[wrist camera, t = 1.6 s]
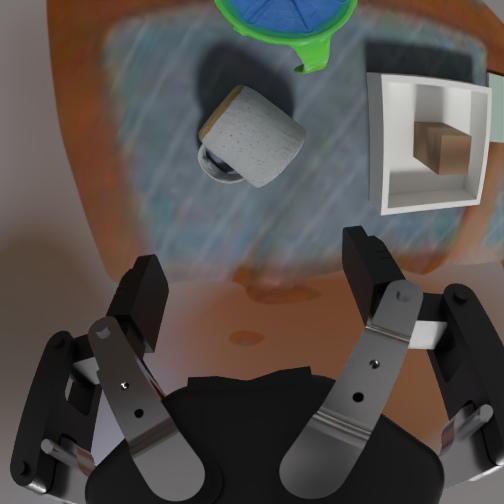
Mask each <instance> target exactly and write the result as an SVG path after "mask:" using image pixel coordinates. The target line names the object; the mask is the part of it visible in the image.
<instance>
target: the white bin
mask: <svg viewBox="0 0 504 504" xmlns="http://www.w3.org/2000/svg"><path fill="white" fill-rule="evenodd" d="M366 76H367V89H368V105H369V130H370V186H369V201H370V202H371V203H372V204H373V206H374V207H375V208H376V210H377V211H378V212H379V214H380V215H388V214H396V213H405V212H413V211H422V210H431V209H440V208H449V207H459V206H468V205H478V204H479V203H480V199H481V194H482V188H483V183H484V177H485V170H486V164H487V156H488V148H489V138H490V126H491V107H492V88H489V87H485V86H482V85H478V84H474V83H470V82H464V81H458V80H452V79H446V78H438V77H430V76H421V75H410V74H397V73H377V72H366ZM414 121H415V122H443V123H445V124H447V125H449V126H452V127H454V128H456V129H458V130H460V131H462V132H464V133H466V134H468V135H470V136H472V141H471V152H470V161H469V169H468V174H457V175H437V174H436V173H435V172H433V171H432V170H431V169H429V168H428V167H427V166H425V165H424V164H423V163H421V162H420V161H419V160H417V159H416V158H414V157H413V144H414Z"/></svg>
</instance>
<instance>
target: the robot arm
mask: <svg viewBox="0 0 504 504" xmlns="http://www.w3.org/2000/svg"><path fill="white" fill-rule="evenodd" d="M342 264H343V269H344V272H345V275H346V277H347V280H348V283H349V285H350V288H351V290H352V293H353V295H354V298H355V301H356V303H357V306H358V309H359V312H360V314H361V317H362V320H363V322H364V325H365V329H364V331H363V333H362V335H361V337H360V339H359V341H358V343H357V344H356V347H355V348H354V350H353V352H352V354H351V356H350V358H349V360H348V361H347V363H346V365H345V367H344V368H343V370H342V372H341V374H340V376H339V377H338V379H337V381H336V380H334V379H332V378H328V377H325V376H320V375H311V369H310V366H308V367H301V368H294V369H286V370H279V371H276V372H273V373H270V374H267V375H264V376H261V377H259V378H255V379H253V380H247V381H245V380H238V379H231V378H225V377H219V376H210V377H188V384H187V386H186V387H183V388H180V389H178V390H176V391H174V392H172V393H170V394H169V395H166V394H165V393H164V391H163V390H162V388H161V387H160V385H159V383H158V382H157V380H156V379H155V377H154V376H153V374H152V372H151V371H150V369H149V368H148V366H147V364H146V362H145V361H144V360H143V356H144V353H154V352H155V347H156V342H157V338H158V334H159V330H160V326H161V322H162V317H163V313H164V309H165V305H166V301H167V297H168V293H169V288H168V282H167V280H166V277H165V275H164V272H163V270H162V268H161V265H160V263H159V260H158V258H157V256H156V255H155V254H152V255H145V256H139V257H138V258H137V260H136V262H135V264H134V266H133V269H129V270H128V271H127V272H126V274H125V275H124V276H123V277H122V279H121V281H120V283H119V287H118V288H117V290H116V294H115V295H114V297H113V300H112V302H111V304H110V307H109V309H108V312H107V314H106V316H105V317H102V318H100V319H98V320H96V321H95V322H94V323H93V324H92V325H91V326H90V328H89V330H88V334H86V335H83V336H80V337H77V338H73V337H72V336H71V334H70V333H69V332H67V331H60V332H58V333H56V334H54V335H53V336H52V337H51V338H50V339H49V341H48V342H47V345H46V347H45V350H44V352H43V355H42V357H41V360H40V362H39V365H38V368H37V371H36V373H35V376H34V379H33V382H32V385H31V388H30V391H29V394H28V397H27V400H26V404H25V407H24V410H23V413H22V417H21V421H20V424H19V428H18V432H17V436H16V441H15V445H14V449H13V454H12V458H11V464H10V472H11V476H12V478H13V480H14V481H15V482H16V483H17V484H18V485H20V486H22V487H24V488H26V489H29V490H31V491H33V492H35V493H36V494H38V495H41V496H43V497H46V498H48V499H51V500H53V501H56V502H61V503H64V504H439V500H440V497H441V495H442V491H443V490H445V489H448V488H450V487H453V486H455V485H457V484H460V483H462V482H464V481H467V480H470V481H476V480H479V479H481V478H483V477H485V476H487V475H489V474H491V473H493V472H495V471H497V470H499V469H501V468H503V467H504V346H503V344H502V342H501V340H500V338H499V336H498V334H497V332H496V331H495V328H494V326H493V325H492V323H491V321H490V319H489V317H488V316H487V314H486V312H485V310H484V308H483V307H482V305H481V303H480V302H479V300H478V298H477V297H476V295H475V293H474V292H473V291H472V290H471V289H470V288H469V287H467V286H465V285H463V284H450V285H448V286H447V287H446V288H445V290H444V293H443V294H431V293H424V292H422V290H421V288H420V287H419V286H418V285H417V284H415V283H413V282H411V281H408V280H406V279H405V277H404V275H403V274H402V272H401V270H400V269H399V267H398V265H397V264H396V262H395V260H394V259H393V258H392V255H391V254H390V252H389V251H388V249H387V247H386V246H385V244H384V243H383V242H382V241H381V240H380V239H378V238H377V237H375V236H367V234H366V232H365V231H364V229H363V227H362V226H353V227H345V228H343V242H342ZM408 348H415V349H426V350H427V353H428V356H429V358H430V361H431V364H432V367H433V370H434V372H435V375H436V379H437V382H438V385H439V388H440V391H441V394H442V397H443V401H444V404H445V408H446V411H447V415H448V418H449V422H448V423H447V424H446V425H445V427H444V428H443V431H442V434H441V443H442V446H441V451H440V454H439V455H438V456H437V454H436V453H435V452H434V451H433V450H432V449H431V448H429V447H428V446H426V445H425V444H423V443H422V442H420V441H419V440H418V439H416V438H415V437H413V436H412V435H411V434H409V433H408V432H406V431H405V430H404V429H403V428H401V427H400V426H398V425H397V424H396V423H394V422H393V421H392V420H390V419H389V418H387V417H386V416H385V415H383V414H382V413H381V412H382V410H383V408H384V406H385V403H386V401H387V399H388V397H389V395H390V392H391V390H392V388H393V385H394V383H395V381H396V378H397V375H398V373H399V370H400V368H401V365H402V363H403V360H404V357H405V355H406V352H407V349H408ZM69 377H70V378H71V379H72V380H73V383H72V387H71V390H70V394H69V397H68V401H67V400H66V397H65V389H66V385H67V382H68V379H69ZM102 389H103V392H104V394H105V396H106V398H107V401H108V403H109V405H110V407H111V410H112V412H113V414H114V416H115V418H116V421H117V423H118V425H119V427H120V429H121V431H122V433H123V435H124V437H125V438H124V440H122V442H120V444H119V445H118V446H117V447H116V448H115V449H114V450H113V451H112V452H111V453H110V454H109V455H108V456H107V457H106V458H105V459H104V460H103V461H102V462H101V463H100V464H99V465H98V466H97V467H96V466H95V463H94V459H93V457H92V455H91V447H92V440H93V434H94V429H95V423H96V417H97V412H98V407H99V401H100V397H101V393H102Z"/></svg>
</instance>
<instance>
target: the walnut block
mask: <svg viewBox="0 0 504 504" xmlns="http://www.w3.org/2000/svg"><path fill="white" fill-rule="evenodd" d="M471 141H472V136H470V135H468V134H466V133H464V132H462V131H460V130H458V129H456V128H454V127H452V126H449V125H447V124H445V123H443V122H415V121H414V144H413V157H414V158H416V159H417V160H419V161H420V162H421V163H423V164H424V165H425V166H427V167H428V168H429V169H431V170H432V171H433V172H435V173H436V174H437V175H457V174H468V169H469V161H470V152H471Z"/></svg>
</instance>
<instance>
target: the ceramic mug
mask: <svg viewBox="0 0 504 504" xmlns="http://www.w3.org/2000/svg"><path fill="white" fill-rule="evenodd" d="M198 135H199V139H200V141H201V142H202V145H201V147H200V149H199V152H198V161H199V164H200V166H201V167H202V169H203V170H204V171H205V172H206V173H207V174H208V175H209V176H210V177H211V178H213V179H215V180H217V181H219V182H222V183H236V182H240V181H242V180H244V179H246V180H247V181H248V182H250V183H251V184H252V185H254V186H255V187H262V186H264V185H266V184H267V183H269V182H270V181H272V180H273V179H274V178H275V177H277V176H278V175H279V174H280V173H281V172H282V171H283V170H284V169H285V167H286V166H287V165H288V164H289V163H290V162H291V160H292V159H293V158H294V157H295V156H296V154H297V153H298V152H299V150H300V148H301V147H302V144H303V142H304V140H305V137H306V131H305V129H304V128H303V127H302V126H300V125H299V124H298V123H297V122H295V121H294V120H293V119H292V118H291V117H289V116H288V115H287V114H286V113H284V112H283V111H282V110H281V109H279V108H278V107H277V106H275V105H274V104H273V103H271V102H270V101H269V100H267V99H266V98H265V97H263V96H262V95H261V94H259V93H258V92H257V91H255V90H253V89H251V88H249V87H248V86H245V85H238V86H236V87H235V88H234V89H233V90H232V91H231V92H230V93H229V94H228V95H227V97H226V98H225V99H224V100H223V101H222V103H221V104H220V105H219V106H218V107H217V108H216V110H215V111H214V112H213V113H212V115H211V116H210V117H209V119H208V120H207V121H206V123H205V124H204V125H203V127H202V128H201V129H200V131H199V133H198ZM206 147H207V148H208V149H209V150H210V151H211V152H212V153H214V154H215V155H216V156H218V157H219V158H221V159H222V160H223V161H225V162H226V163H227V164H228V165H229V166H231V167H232V168H233V169H234V170H235V171H236V172H238V174H228V173H225V172H222V171H221V170H220V169H219V168H218V167H216V166H215V165H214V164H213V163H212V162H211V160H210V159H208V158H207V156H206V150H205V149H206Z"/></svg>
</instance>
